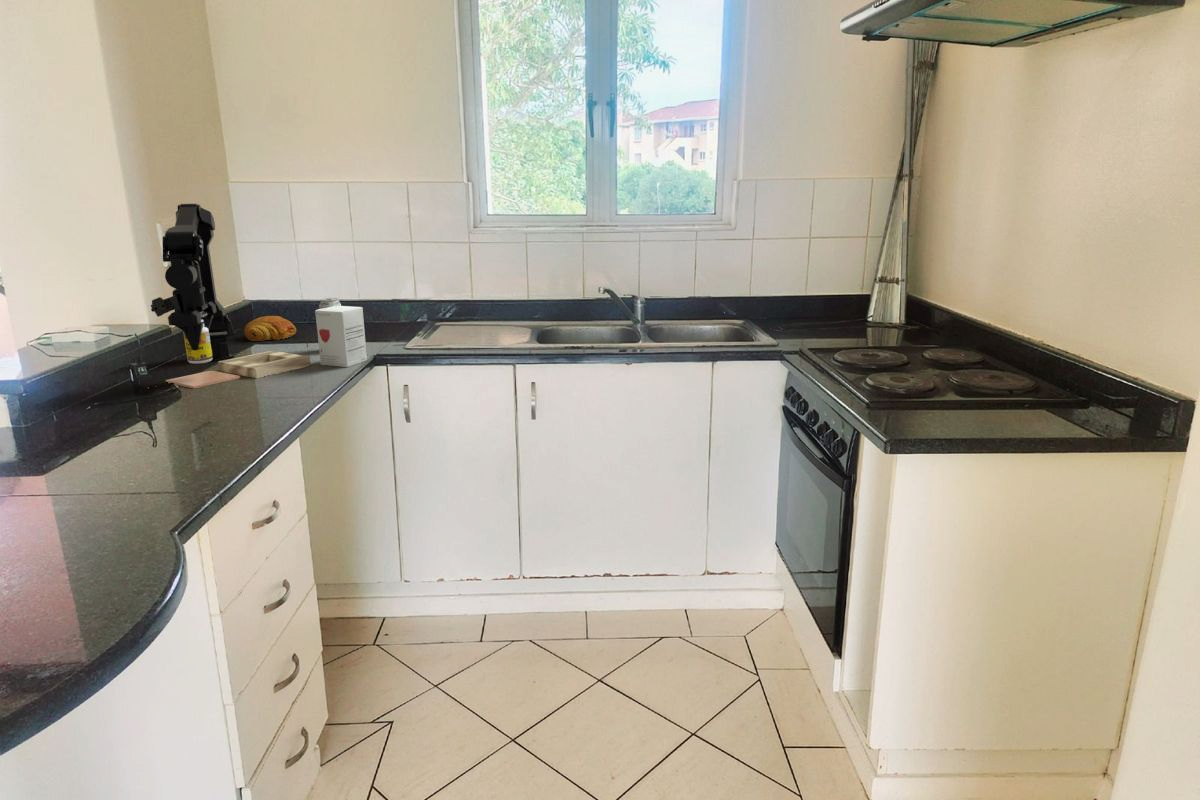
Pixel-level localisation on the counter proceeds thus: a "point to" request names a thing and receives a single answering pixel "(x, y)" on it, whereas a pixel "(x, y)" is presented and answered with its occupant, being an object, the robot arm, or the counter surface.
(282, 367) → the board
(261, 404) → the counter surface
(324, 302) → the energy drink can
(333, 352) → the supplement box
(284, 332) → the croissant
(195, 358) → the supplement bottle
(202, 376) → the terracotta tile
